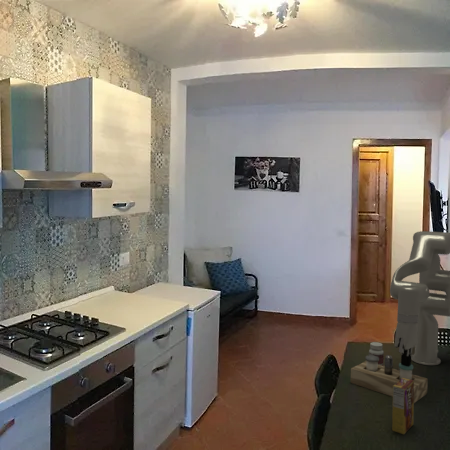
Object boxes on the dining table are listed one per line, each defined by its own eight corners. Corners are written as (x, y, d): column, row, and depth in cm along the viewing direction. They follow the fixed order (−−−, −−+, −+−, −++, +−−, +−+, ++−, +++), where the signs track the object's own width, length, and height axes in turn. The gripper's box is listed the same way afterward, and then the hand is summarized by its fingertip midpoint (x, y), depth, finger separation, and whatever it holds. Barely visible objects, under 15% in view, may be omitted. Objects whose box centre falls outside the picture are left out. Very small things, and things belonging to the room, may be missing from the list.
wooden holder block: (365, 374, 203) (365, 360, 203) (426, 393, 185) (427, 378, 184) (350, 382, 195) (351, 368, 194) (413, 403, 176) (414, 387, 176)
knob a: (369, 373, 198) (369, 354, 198) (380, 376, 195) (381, 357, 194) (362, 376, 195) (363, 357, 194) (374, 380, 191) (375, 360, 190)
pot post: (386, 371, 191) (387, 354, 191) (393, 373, 189) (394, 356, 189) (382, 373, 189) (383, 356, 189) (390, 375, 187) (390, 358, 187)
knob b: (401, 381, 188) (402, 361, 188) (414, 385, 185) (415, 365, 184) (395, 385, 185) (396, 364, 184) (408, 389, 181) (409, 368, 180)
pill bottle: (386, 370, 209) (387, 344, 208) (376, 372, 205) (377, 347, 204) (374, 365, 214) (375, 340, 213) (365, 368, 210) (366, 343, 210)
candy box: (400, 420, 164) (402, 377, 162) (413, 424, 161) (415, 380, 160) (390, 430, 157) (392, 385, 156) (404, 435, 154) (405, 389, 153)
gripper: (406, 312, 190) (405, 358, 192) (389, 319, 180) (387, 367, 181) (425, 316, 185) (423, 363, 186) (408, 323, 175) (406, 373, 176)
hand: (405, 365), depth 184 cm, fingers closed
